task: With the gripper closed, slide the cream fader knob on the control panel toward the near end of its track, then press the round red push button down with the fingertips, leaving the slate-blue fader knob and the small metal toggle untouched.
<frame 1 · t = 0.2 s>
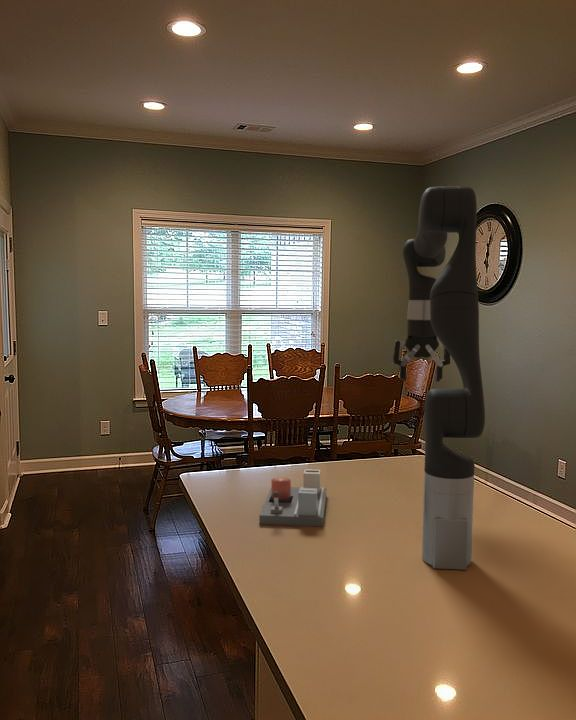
hand: (420, 381, 166), 29 cm above the kitchen island, fingers open, 8 cm apart
slate-blue fader knob: (307, 501, 144), point 5 cm above the kitchen island, slide at 0.0 cm
panel: (295, 509, 153), on the kitchen island
cream fader knob: (312, 481, 160), point 5 cm above the kitchen island, slide at 0.0 cm
red push button: (281, 488, 154), point 5 cm above the kitchen island, slide at 0.0 cm
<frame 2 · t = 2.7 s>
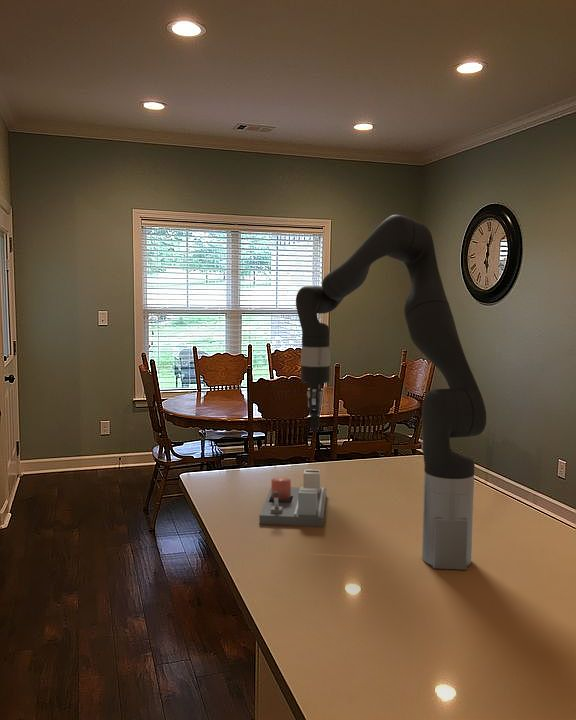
hand: (314, 429, 168), 16 cm above the kitchen island, fingers closed
nothing on the kitchen island moved.
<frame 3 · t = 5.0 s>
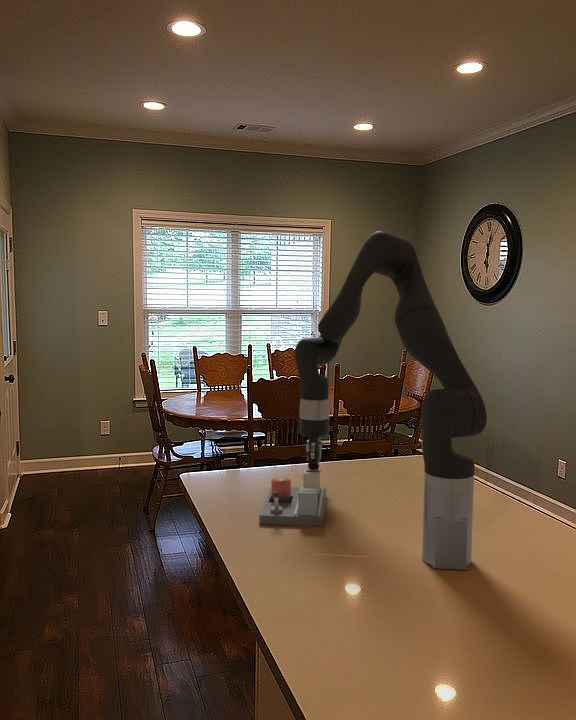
hand: (313, 482, 165), 3 cm above the kitchen island, fingers closed
cream fader knob: (312, 481, 160), point 5 cm above the kitchen island, slide at 0.2 cm, touching gripper
everything else where it was.
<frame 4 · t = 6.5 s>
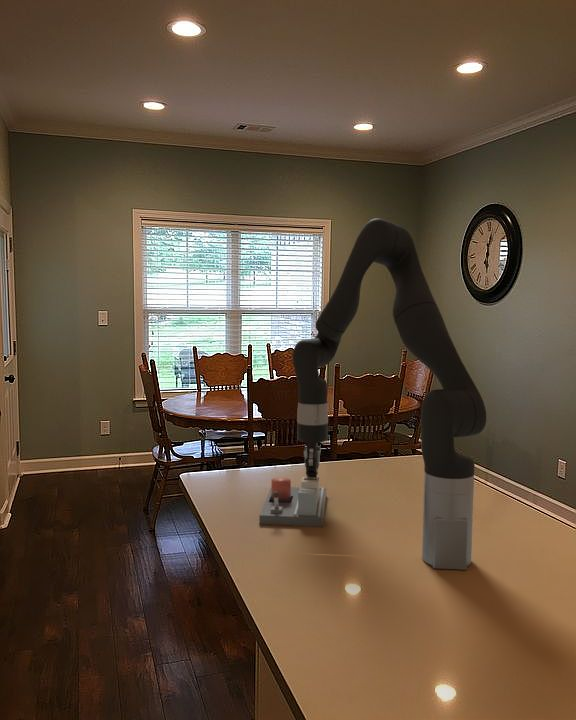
hand: (312, 490, 158), 3 cm above the kitchen island, fingers closed
cream fader knob: (310, 489, 153), point 5 cm above the kitchen island, slide at 7.1 cm, touching gripper
everything else where it was.
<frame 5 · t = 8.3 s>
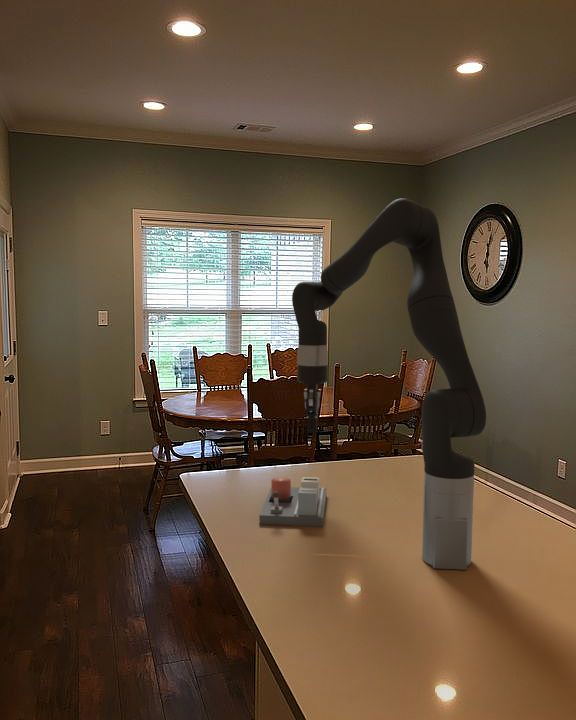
hand: (312, 432, 160), 17 cm above the kitchen island, fingers closed
cream fader knob: (310, 489, 153), point 5 cm above the kitchen island, slide at 7.3 cm
everything else where it was.
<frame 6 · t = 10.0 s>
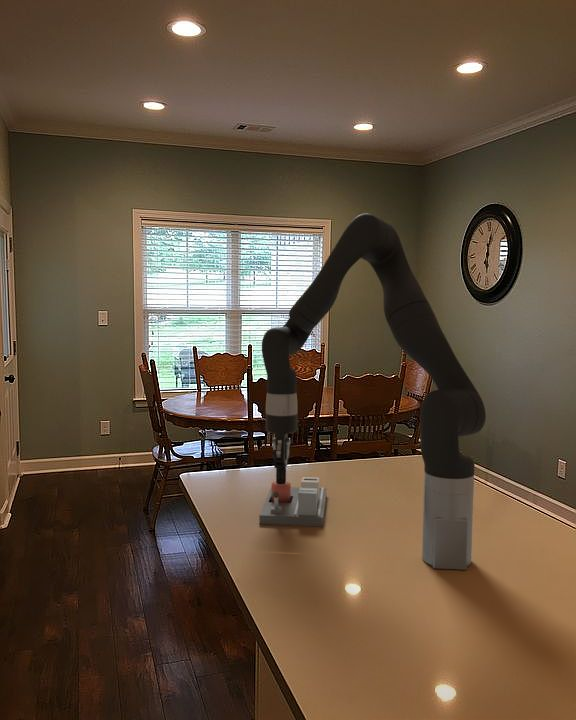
hand: (281, 483, 154), 6 cm above the kitchen island, fingers closed
red push button: (281, 491, 154), point 4 cm above the kitchen island, slide at 0.9 cm, touching gripper
everything else where it was.
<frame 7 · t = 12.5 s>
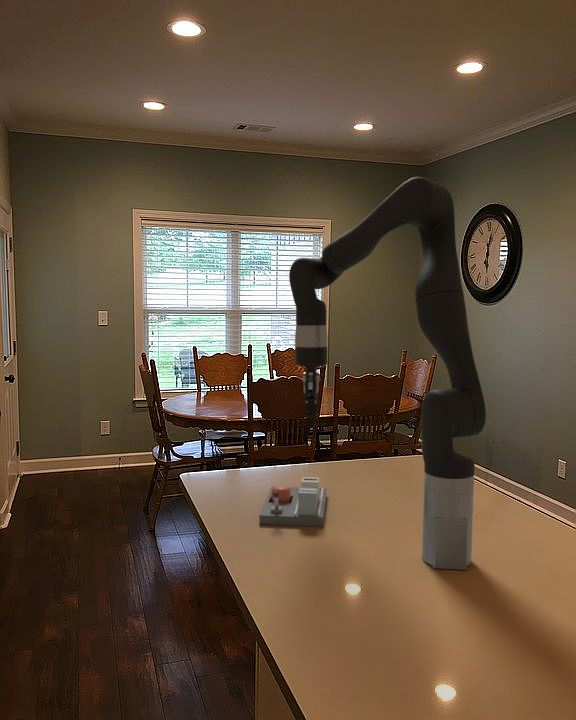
hand: (311, 418, 151), 22 cm above the kitchen island, fingers closed
red push button: (281, 496, 154), point 3 cm above the kitchen island, slide at 2.1 cm
everything else where it was.
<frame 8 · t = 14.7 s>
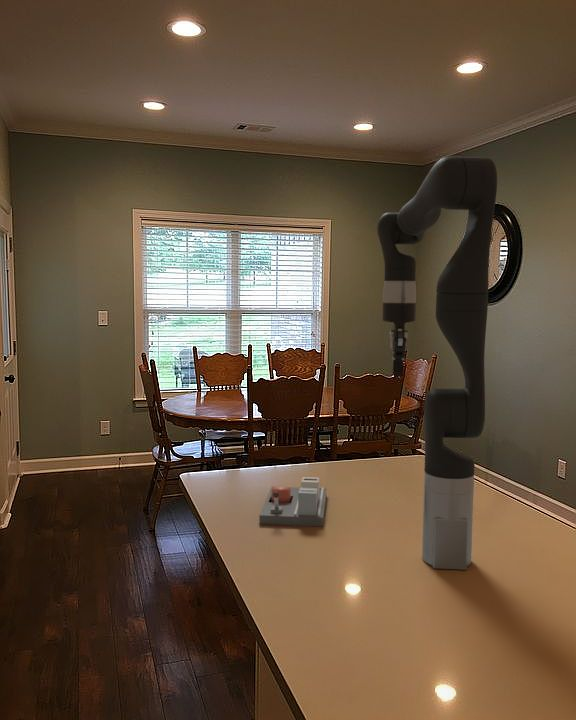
hand: (397, 376, 149), 32 cm above the kitchen island, fingers closed
nothing on the kitchen island moved.
at the end: cream fader knob slide at 7.3 cm; red push button slide at 2.1 cm; slate-blue fader knob slide at 0.0 cm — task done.
